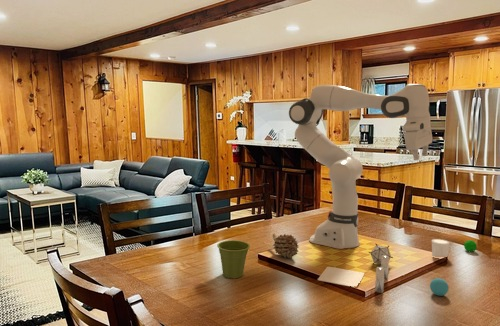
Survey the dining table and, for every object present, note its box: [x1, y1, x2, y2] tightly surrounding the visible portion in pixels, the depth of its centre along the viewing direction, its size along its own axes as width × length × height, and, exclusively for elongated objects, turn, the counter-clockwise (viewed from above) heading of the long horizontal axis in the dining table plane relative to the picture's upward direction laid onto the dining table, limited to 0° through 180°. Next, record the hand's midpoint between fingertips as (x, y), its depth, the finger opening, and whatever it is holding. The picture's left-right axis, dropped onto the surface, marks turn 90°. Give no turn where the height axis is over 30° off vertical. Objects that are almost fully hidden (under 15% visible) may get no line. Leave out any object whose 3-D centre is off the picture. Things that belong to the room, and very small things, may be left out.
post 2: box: [380, 255, 390, 280], centre depth 144 cm, size 3×3×8 cm
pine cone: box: [272, 233, 300, 259], centre depth 167 cm, size 22×10×10 cm, turn 22°
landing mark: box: [317, 266, 365, 288], centre depth 145 cm, size 14×14×1 cm
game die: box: [368, 243, 394, 265], centre depth 157 cm, size 9×8×10 cm
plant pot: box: [216, 239, 251, 279], centre depth 145 cm, size 12×12×11 cm
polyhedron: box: [463, 239, 478, 253], centre depth 174 cm, size 5×5×5 cm
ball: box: [429, 277, 449, 297], centre depth 131 cm, size 6×6×6 cm
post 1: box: [374, 266, 385, 294], centre depth 133 cm, size 3×3×8 cm
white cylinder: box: [431, 238, 451, 258], centre depth 166 cm, size 7×7×7 cm
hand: (420, 157), depth 162 cm, fingers open, 8 cm apart
